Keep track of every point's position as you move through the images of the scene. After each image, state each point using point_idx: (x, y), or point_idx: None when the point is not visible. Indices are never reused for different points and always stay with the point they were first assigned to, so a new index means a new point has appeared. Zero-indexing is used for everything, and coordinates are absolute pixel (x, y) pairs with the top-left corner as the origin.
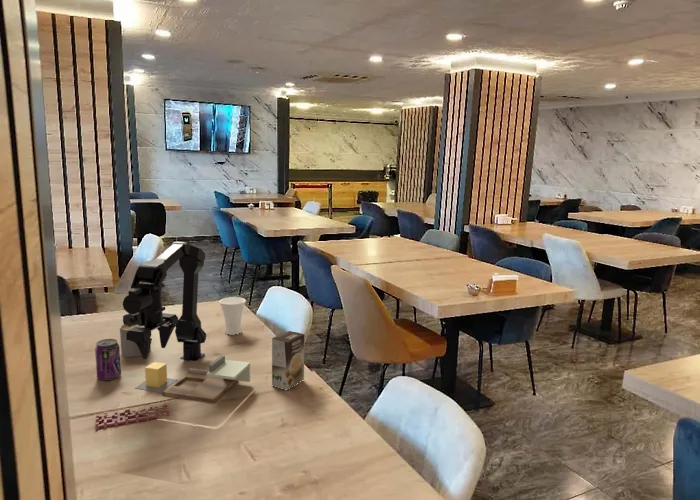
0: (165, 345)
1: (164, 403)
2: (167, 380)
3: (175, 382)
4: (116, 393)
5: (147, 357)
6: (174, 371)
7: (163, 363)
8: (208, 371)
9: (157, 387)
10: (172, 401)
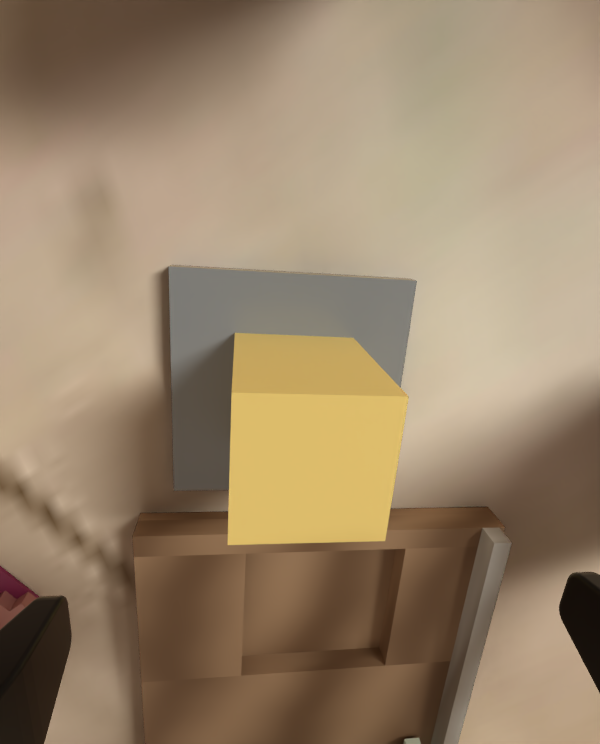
0: (596, 668)
1: (20, 605)
2: None
3: None
4: (53, 136)
5: (56, 672)
6: (538, 377)
7: (387, 512)
8: (465, 666)
9: (230, 432)
10: (102, 598)
